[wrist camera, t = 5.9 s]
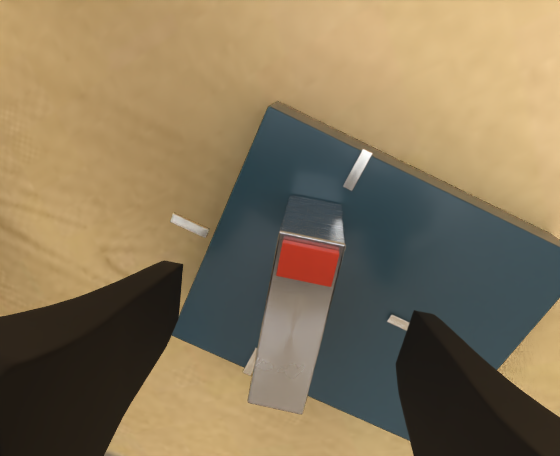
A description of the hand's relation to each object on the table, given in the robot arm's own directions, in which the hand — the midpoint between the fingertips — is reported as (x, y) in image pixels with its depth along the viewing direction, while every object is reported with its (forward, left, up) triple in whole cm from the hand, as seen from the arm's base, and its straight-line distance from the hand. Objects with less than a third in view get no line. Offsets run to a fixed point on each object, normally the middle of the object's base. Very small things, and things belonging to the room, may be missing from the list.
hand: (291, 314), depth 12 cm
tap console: (+3, 0, -5) cm, 6 cm away
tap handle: (0, 0, -3) cm, 3 cm away
